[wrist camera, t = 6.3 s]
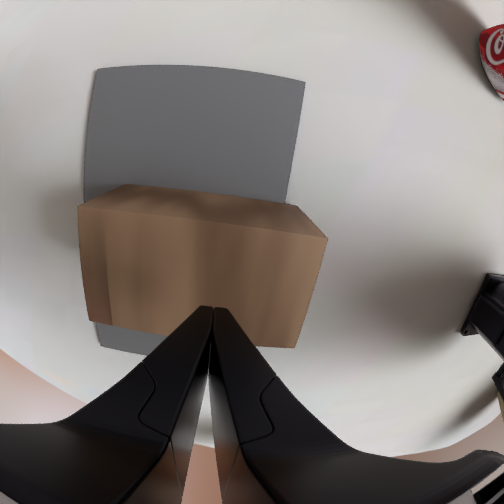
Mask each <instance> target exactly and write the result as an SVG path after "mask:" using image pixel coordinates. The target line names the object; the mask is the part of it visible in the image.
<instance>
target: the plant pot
mask: <svg viewBox="0 0 504 504" xmlns="http://www.w3.org/2000/svg"><path fill="white" fill-rule="evenodd" d="M497 395H498V400H499V405H500V409H501V413H502V417H503V421H504V402H503V399H502V397H501V395H500V393H499V391H498V392H497Z"/></svg>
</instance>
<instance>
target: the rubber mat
mask: <svg viewBox="0 0 504 504" xmlns="http://www.w3.org/2000/svg"><path fill="white" fill-rule="evenodd" d="M305 83H306V82H303V81H299V80H294V79H290V78H285V77H280V76H275V75H269V74H264V73H258V72H251V71H244V70H236V69H228V68H218V67H206V66H189V65H138V66H122V67H110V68H101V69H97V73H96V78H95V83H94V88H93V94H92V100H91V106H90V113H89V121H88V129H87V139H86V150H85V166H84V203H86V202H88V201H90V200H92V199H94V198H96V197H98V196H100V195H102V194H104V193H106V192H109V191H111V190H113V189H115V188H117V187H120V186H122V185H124V184H133V185H144V186H155V187H165V188H174V189H183V190H192V191H200V192H208V193H216V194H224V195H231V196H238V197H245V198H252V199H258V200H265V201H271V202H277V203H283V204H285V199H286V194H287V188H288V183H289V177H290V172H291V166H292V161H293V155H294V149H295V144H296V138H297V132H298V126H299V120H300V114H301V108H302V102H303V96H304V89H305ZM96 326H97V331H98V336H99V340H100V345H101V346H103V347H107V348H111V349H116V350H121V351H126V352H131V353H136V354H141V355H147V356H148V355H149V354H150V353H151V352H152V351H153V350H154V349H155V348H156V347H157V346H158V345H159V344H160V343H161V342H162V341H163V340H164V339H166V338H167V337H168V336H166V335H159V334H153V333H148V332H142V331H137V330H131V329H126V328H121V327H116V326H112V325H107V324H103V323H98V322H96ZM209 358H210V356H209Z"/></svg>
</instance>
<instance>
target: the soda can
mask: <svg viewBox="0 0 504 504" xmlns="http://www.w3.org/2000/svg"><path fill="white" fill-rule="evenodd" d="M479 46H480V57H481V62H482V65H483V68H484V71H485V73H486V75H487V77H488V79H489V81H490V83H491V84H492V86H493V87H494V88H495V90H496V91H497V93H498V94H499V96H500V97H501V98H502V99H503V100H504V24H501V25H497V26H494V27H491V28H488V29H486V30H484V31H482V32H481V34H480V39H479Z"/></svg>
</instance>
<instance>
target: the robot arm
mask: <svg viewBox="0 0 504 504" xmlns="http://www.w3.org/2000/svg"><path fill="white" fill-rule="evenodd" d="M213 311H214V313H213ZM460 333H461V334H462V335H463V336H468V335H475V334H480V335H481V336H482V337H483V338H484V340H485V341H486V342H487V343H488V344H489V345H490V346H491V347H492V348H493V349H494V350H495V351H496V352H497V354H498V355H499V356H500V357H501V358H502V359H503V360H504V276H501V275H495V274H488V275H487V276H486V278H485V281H484V283H483V286H482V288H481V290H480V293H479V295H478V297H477V299H476V301H475V304H474V306H473V308H472V310H471V312H470V314H469V316H468V318H467V320H466V322H465V324H464V326H463V328H462V329H461V332H460ZM209 356H210V358H209ZM208 368H209V373H208ZM207 376H209V392H210V404H211V415H212V425H213V435H214V444H215V453H216V461H217V468H218V476H219V482H220V483H219V484H220V491H221V497H222V504H504V472H503V473H502V474H500V475H499V476H498V477H496V478H495V479H494V480H492V481H491V482H490V483H488V484H487V485H485V486H484V487H483V488H481V489H480V490H479V491H477V492H476V493H474V494H473V493H472V491H471V489H472V488H473V487H475V486H476V485H477V484H479V483H480V482H481V481H483V480H484V479H485V478H486V477H488V476H489V475H490V474H492V473H493V472H494V471H495V470H497V469H498V468H499V467H500V466H501V465H502V464H504V456H503V455H501V454H499V453H497V452H494V451H487V450H475V451H473V452H471V453H469V454H468V455H466V456H464V457H462V458H460V459H458V460H455V461H450V462H443V463H434V462H433V463H432V462H421V461H412V460H405V459H398V458H392V457H386V456H381V455H375V454H370V453H366V452H362V451H359V450H356V449H354V448H352V447H350V446H349V445H347V444H346V443H344V442H343V441H342V440H340V439H339V438H338V437H337V436H336V435H335V434H333V433H332V432H331V431H330V430H329V429H328V428H327V427H326V426H325V425H323V424H322V423H321V422H320V421H319V420H318V419H317V418H316V417H315V416H314V415H313V414H312V413H310V412H309V411H308V410H307V409H306V408H305V407H304V406H303V405H302V404H301V403H300V402H299V401H298V400H297V399H296V398H295V396H294V395H293V394H292V393H291V392H290V391H289V389H288V388H287V387H286V386H285V385H284V383H283V382H282V381H281V380H280V378H279V377H278V376H276V373H275V372H274V371H273V369H272V368H271V367H270V365H269V364H268V363H267V361H266V360H265V359H264V357H263V356H262V355H261V353H260V352H259V351H258V349H257V348H256V347H255V345H254V344H253V343H252V341H251V340H250V339H249V337H248V336H247V335H246V333H245V332H244V330H243V329H242V328H241V326H240V325H239V323H238V322H237V321H236V319H235V318H234V317H233V315H232V314H231V312H230V311H229V309H227V308H222V307H215V308H213V307H212V306H204V305H201V306H199V307H198V308H197V309H196V310H195V311H194V312H193V313H192V314H191V315H190V316H189V317H188V318H187V319H185V320H184V321H183V322H182V323H181V324H180V325H179V326H178V327H177V328H176V329H175V330H174V331H173V332H172V333H171V334H170V335H169V336H168V337H167V338H166V339H164V340H163V341H162V342H161V343H160V344H159V345H158V346H157V347H156V348H155V349H154V350H153V351H152V352H151V353H150V354H149V355H148V356H147V357H146V358H145V359H143V360H142V362H140V363H139V364H138V365H137V366H136V367H135V368H134V369H133V370H132V371H130V372H129V373H128V374H127V375H126V376H125V377H124V378H123V379H121V380H120V381H119V382H118V383H116V384H115V385H114V386H112V387H111V388H110V389H108V390H107V391H106V392H104V393H103V394H101V395H100V396H98V397H97V398H96V399H94V400H93V401H91V402H90V403H88V404H87V405H86V406H84V407H83V408H81V409H80V410H78V411H77V412H75V413H74V414H72V415H71V416H69V417H67V418H65V419H63V420H60V421H57V422H53V423H46V424H45V423H44V424H0V504H181V502H182V496H183V491H184V486H185V481H186V476H187V471H188V466H189V461H190V457H191V451H192V447H193V442H194V437H195V433H196V428H197V423H198V418H199V414H200V409H201V404H202V400H203V395H204V391H205V386H206V382H207ZM492 379H493V380H494V382H495V386H496V388H497V389H498V391H499V393H500V395H501V397H502V399H503V402H504V363H503V364H502V365H501V367H500V368H499V370H498V371H497V372H496V373H495V374H494V375H493V377H492Z"/></svg>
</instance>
